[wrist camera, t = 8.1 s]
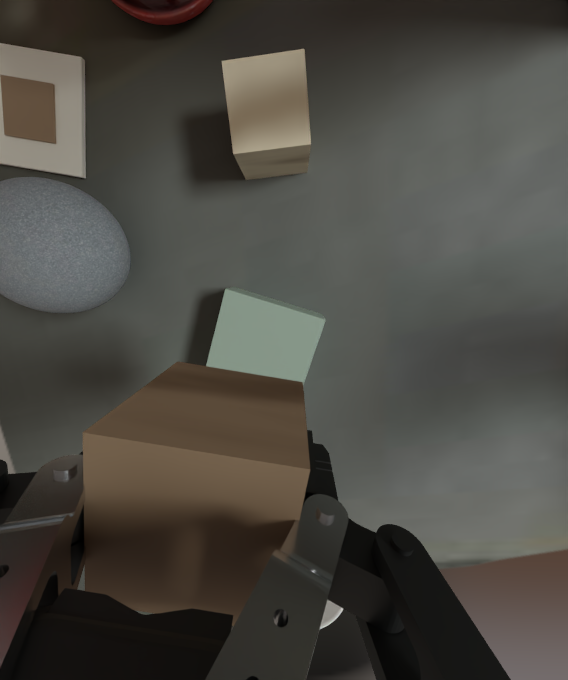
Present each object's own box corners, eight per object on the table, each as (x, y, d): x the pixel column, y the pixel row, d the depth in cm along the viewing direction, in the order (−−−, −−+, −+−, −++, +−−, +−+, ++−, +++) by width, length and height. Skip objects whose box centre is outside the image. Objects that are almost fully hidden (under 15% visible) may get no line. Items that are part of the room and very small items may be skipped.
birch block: (237, 109, 24) (221, 60, 18) (301, 100, 23) (304, 48, 18) (246, 180, 25) (233, 154, 19) (307, 172, 24) (310, 144, 19)
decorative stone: (29, 228, 26) (-126, 200, 17) (116, 178, 25) (3, 116, 15) (88, 321, 28) (-20, 346, 18) (171, 280, 27) (102, 283, 17)
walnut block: (177, 361, 12) (82, 432, 7) (302, 382, 12) (310, 469, 7) (169, 469, 13) (85, 601, 8) (282, 487, 13) (275, 632, 8)
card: (-22, 42, 23) (-30, 36, 22) (85, 60, 23) (79, 55, 22) (-12, 162, 25) (-20, 159, 24) (85, 178, 25) (80, 176, 24)
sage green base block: (235, 286, 27) (225, 288, 23) (321, 313, 28) (325, 319, 24) (213, 368, 29) (201, 382, 25) (294, 392, 30) (294, 410, 26)
